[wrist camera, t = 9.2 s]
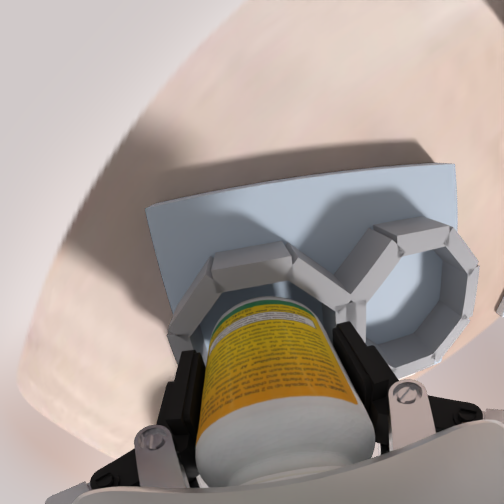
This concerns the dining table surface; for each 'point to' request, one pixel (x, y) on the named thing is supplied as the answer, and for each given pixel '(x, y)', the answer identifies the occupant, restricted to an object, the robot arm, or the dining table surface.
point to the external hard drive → (501, 308)
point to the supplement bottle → (276, 399)
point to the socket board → (325, 257)
